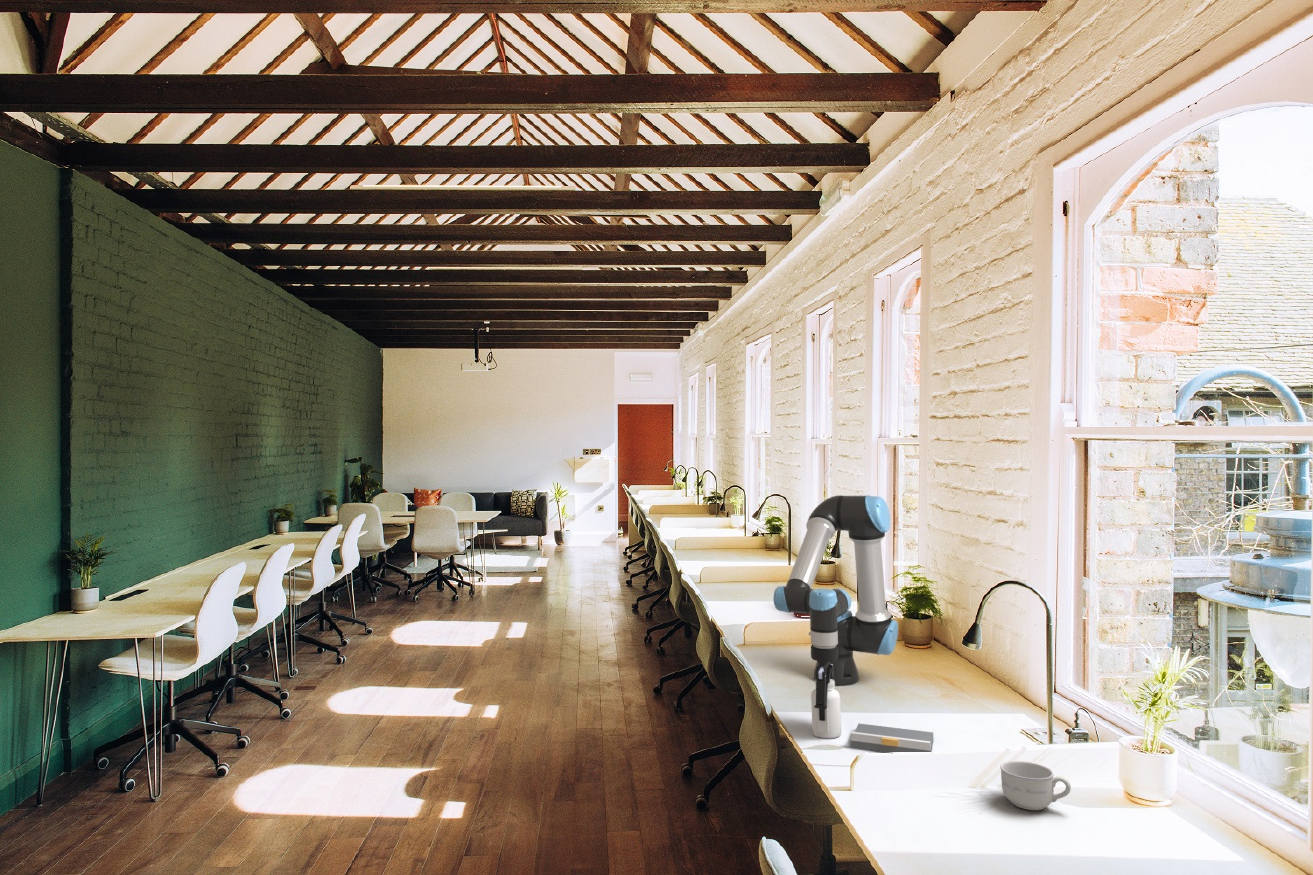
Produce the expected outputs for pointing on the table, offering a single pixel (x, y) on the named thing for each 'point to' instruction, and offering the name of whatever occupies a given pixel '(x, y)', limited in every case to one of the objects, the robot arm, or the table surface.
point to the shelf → (891, 739)
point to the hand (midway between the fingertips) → (826, 725)
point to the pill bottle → (833, 713)
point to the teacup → (1030, 784)
